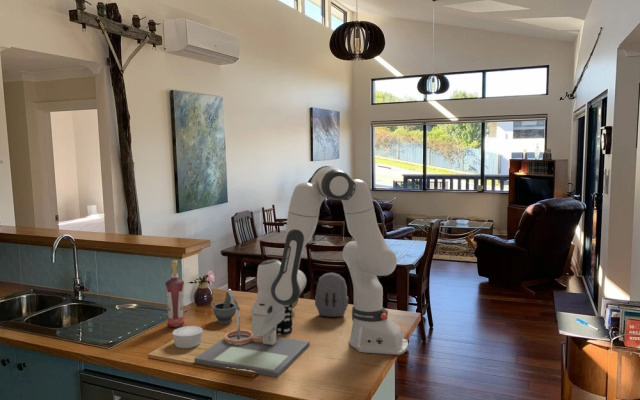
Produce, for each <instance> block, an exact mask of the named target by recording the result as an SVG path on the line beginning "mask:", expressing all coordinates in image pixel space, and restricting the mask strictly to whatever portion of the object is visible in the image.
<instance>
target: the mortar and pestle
mask: <svg viewBox="0 0 640 400" xmlns="http://www.w3.org/2000/svg"><path fill="white" fill-rule="evenodd" d="M232 294H233V292H232ZM233 295H234V294H233ZM212 312H213V314H214V316H215V318H216V319H217V321H216V322H217V323H218V324H220V325H228V324H230V323H232V322H233V319H232V318H233V317H234V316H235V315H236V313H237V310H236V307H235V305H234V303H233V302H232V299H231V297H230V295H229V293H228V291H226V292H225V298H224V302H219V303H216V304H214V305H213V306H212Z"/></svg>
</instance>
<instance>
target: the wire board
mask: <svg viewBox="0 0 640 400" xmlns="http://www.w3.org/2000/svg"><path fill="white" fill-rule="evenodd" d="M248 337H250V335H248V334H243V333H242V334H240V339H245V338H248ZM254 337H261V338H263V336H255V335H254ZM228 338H230V339H235V340H237V334H234V335H230V336H229V337H228ZM310 345H311V344H310V341H307V340H301V339H294V338H288V337H281V336H276V343H274V344H273V345H270V344H264V343H263V342H258V341H250V342H246V343H240V344H233V343H228V342H226V341H225V340H224V338H222V339H220V341H218V342H216V343H215V344H214V345H212V346H210V347H209V348H207V349H206V350H204V351H203V352H202V353H200V354H199V355H197V356H196V357H194V363H195V364H196V363H197V364H201V365H209V366H212V365H213V366H214V367H218V366H219V367H218V368H223V367H229V368H236V369H246V370H252V371H255V372H256V373H255V374H256V375H262V376H269V377H274V378H279V377H280V376H281V375H283V373H284V372H285V371H286V370H287V369H288V368H289V367H290V366H291V365H292V364H293V363H294V362H295V361H296V360H297V359H298V358H299V357H300V356H301V355H302V354H303V353H304V352H305V351H306V350H307V349H308V347H310ZM213 366H212V367H213ZM229 368H228V369H229Z"/></svg>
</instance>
